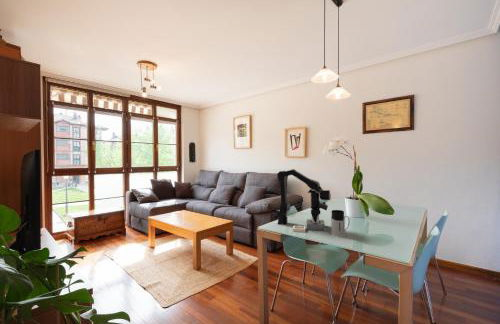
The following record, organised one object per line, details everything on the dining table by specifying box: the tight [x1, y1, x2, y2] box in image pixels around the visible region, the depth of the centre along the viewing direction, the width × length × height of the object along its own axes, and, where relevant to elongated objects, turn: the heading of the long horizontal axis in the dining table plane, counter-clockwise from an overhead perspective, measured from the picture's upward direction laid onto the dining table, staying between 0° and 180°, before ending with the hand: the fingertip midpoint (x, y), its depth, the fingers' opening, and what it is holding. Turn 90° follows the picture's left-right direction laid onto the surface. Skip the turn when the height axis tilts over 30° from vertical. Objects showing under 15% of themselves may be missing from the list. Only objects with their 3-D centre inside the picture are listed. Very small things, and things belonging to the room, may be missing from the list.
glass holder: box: [330, 209, 351, 238], centre depth 148 cm, size 9×14×15 cm, turn 20°
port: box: [306, 218, 326, 231], centre depth 166 cm, size 12×12×5 cm
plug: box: [311, 214, 320, 223], centre depth 166 cm, size 5×4×9 cm
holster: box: [292, 225, 306, 233], centre depth 161 cm, size 8×7×2 cm
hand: (315, 221), depth 166 cm, fingers closed on plug, 3 cm apart
